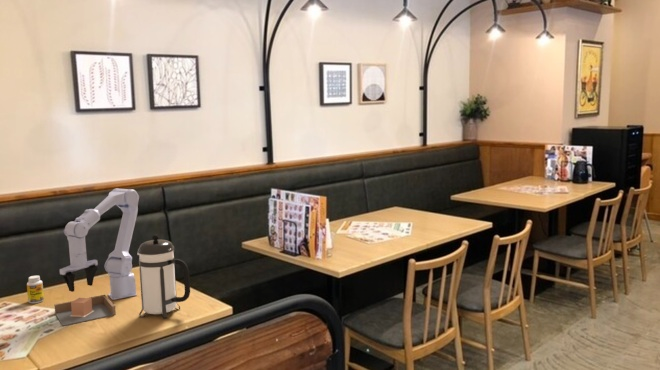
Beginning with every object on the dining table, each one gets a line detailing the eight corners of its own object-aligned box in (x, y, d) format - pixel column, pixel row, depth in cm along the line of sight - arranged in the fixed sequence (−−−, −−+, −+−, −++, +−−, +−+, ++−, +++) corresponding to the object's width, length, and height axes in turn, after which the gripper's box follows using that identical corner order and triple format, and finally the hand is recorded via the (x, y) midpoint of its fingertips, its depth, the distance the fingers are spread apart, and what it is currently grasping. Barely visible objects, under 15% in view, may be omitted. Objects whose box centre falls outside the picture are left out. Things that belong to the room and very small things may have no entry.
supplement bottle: (29, 305, 213) (26, 279, 212) (27, 301, 218) (25, 276, 217) (44, 302, 216) (42, 277, 215) (43, 298, 221) (41, 273, 220)
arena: (105, 302, 214) (104, 294, 214) (115, 314, 201) (115, 306, 201) (55, 313, 204) (54, 304, 204) (62, 326, 191) (61, 317, 191)
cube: (80, 310, 205) (79, 297, 204) (92, 311, 204) (91, 298, 203) (72, 315, 200) (70, 302, 199) (84, 316, 199) (83, 302, 199)
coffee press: (142, 324, 192) (137, 241, 188) (136, 310, 206) (131, 232, 202) (192, 315, 199) (187, 235, 195) (182, 302, 213) (178, 227, 209)
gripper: (88, 247, 212) (91, 281, 213) (53, 256, 199) (56, 292, 201) (100, 249, 208) (102, 283, 210) (65, 258, 196) (68, 295, 198)
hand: (81, 288), depth 205 cm, fingers open, 7 cm apart
